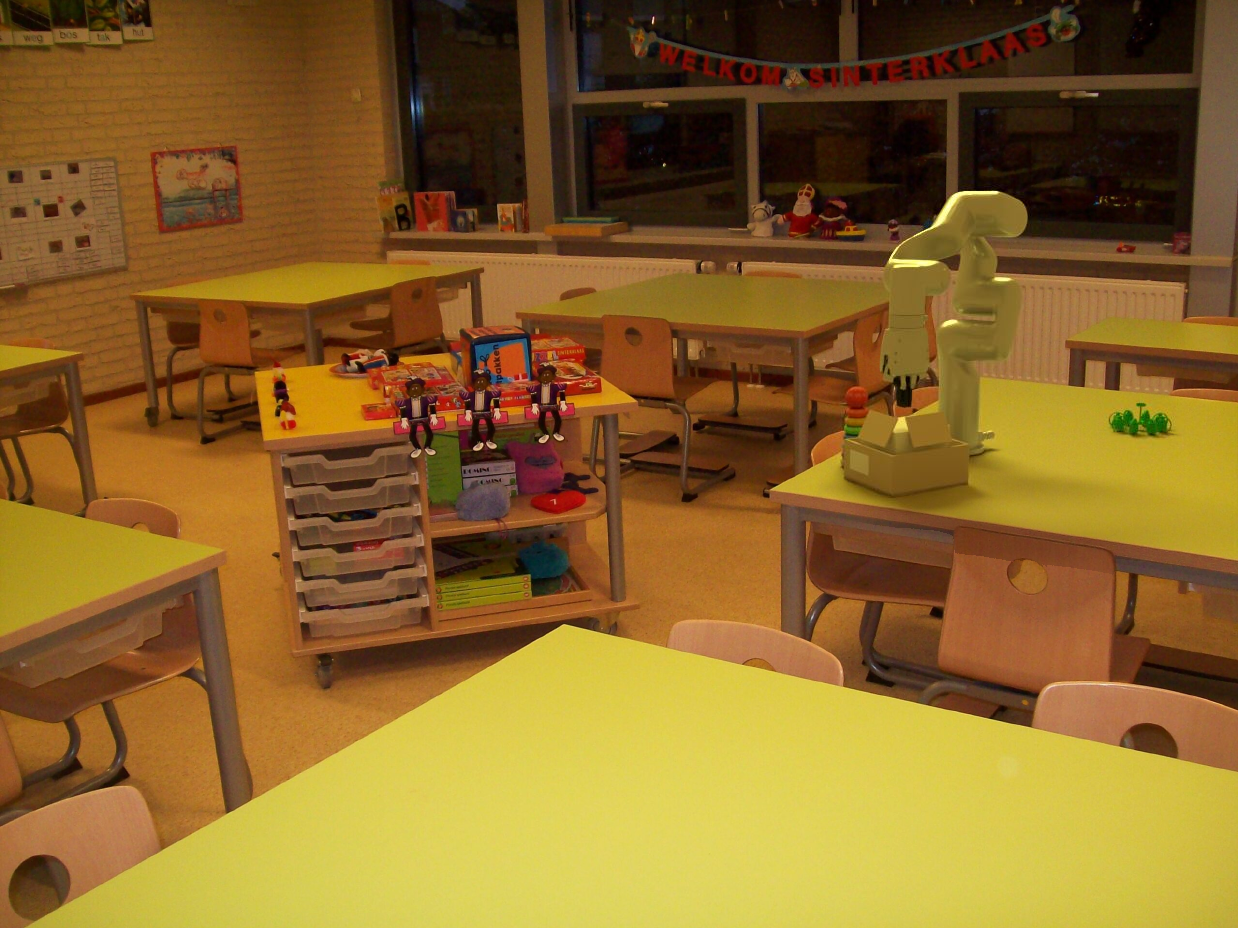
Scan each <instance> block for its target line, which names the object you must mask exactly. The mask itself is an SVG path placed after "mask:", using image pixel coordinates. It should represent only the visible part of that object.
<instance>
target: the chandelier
mask: <svg viewBox="0 0 1238 928" xmlns="http://www.w3.org/2000/svg"><path fill="white" fill-rule="evenodd" d="M1135 406H1136V407H1139V417H1138V420H1137V418H1136V417H1134V413H1133V412H1132V411H1133V410H1132V411H1131V409H1126V410H1124V412H1120V411H1115V412H1113V413H1111V414H1110V415H1109V417H1108V423H1109V425H1110V427H1111V429H1112V430H1113V431H1114V432H1116V431H1121V432H1124V431H1126V429H1127V428H1128V433H1129V434H1130V436H1134V434H1138V433H1139V425H1140V426H1141V425H1142V426H1143V427H1145V430H1146V433H1147V434H1148V435H1151V434H1152V436H1156V435H1157V433H1159V432H1164V433H1168V432H1169V431H1170V430H1171V429H1172V426H1173V425H1172V424H1173V423H1172V421H1171V419H1170V418H1169V417H1168V416H1167V414H1166V413H1163V412H1157V413H1156V414H1154V415H1153V416H1152V418H1151V414H1150V411H1149V410H1148V409H1145V410H1144V411H1143V412H1142V407H1143V408H1144V407H1147V403H1144V402H1138V403H1137V402H1136V404H1135ZM1114 414H1115V415H1114ZM1112 416H1113V417H1112ZM1111 418H1112V421H1111ZM1168 423H1169V424H1170V425H1169V429H1168Z"/></svg>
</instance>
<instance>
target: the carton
mask: <svg viewBox="0 0 1238 928" xmlns="http://www.w3.org/2000/svg"><path fill="white" fill-rule="evenodd" d="M916 415H917V414H915V415H912V416H916ZM909 416H910V415H908V416H900V417H897V418H898V421H897V423H896V426H895V428H894V430H893V432H892V435H891V437H890V439H889V441H888V444H887V446H886V448H884V447H881V446H878V445H876V444H873V443H870V442H867V441H864V440H861V439H858V437H856V438H849V439H843V442H844V449H843V450H844V467H843V479H845V480H848V481H850V482H852V483H855V484H858V485H860V486H863V487H865V488H867V487H868V489H869V488H871V489H870V490H872V489H873V491H874V490H876V491H875V492H877V491H878V492H877V493H879V492H880V494H881V495H884V494H885V496H886V497H889V498H896V497H897V496H898V497H901V496H902V495H903V496H909V495H913V494H920V493H926V492H931V491H933V492H934V491H937V490H943V489H944V490H945V489H948V488H949V489H950V488H955V487H960V486H961V487H962V486H965V485H969V472H970V471H969V470H970V469H969V468H970V467H969V466H970V455H969V446H970V444H967V443H964V442H961V441H958V440H955V439H952V442H947V443H941V444H935V445H928V446H922V447H916V448H913V445H912V442H911V438H910V435H909V431H908V427H907V424H906V420H905V417H909ZM948 427H949V431H950V425H948ZM898 497H897V498H898Z"/></svg>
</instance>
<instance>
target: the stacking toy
mask: <svg viewBox="0 0 1238 928" xmlns="http://www.w3.org/2000/svg"><path fill="white" fill-rule="evenodd" d="M868 400H869V394H868V392H867V391H866V389H864V388H863V387H860V386H853V387H850V388H849V389H848V390H847V392H846V394H845V402H846V403H847V405H848V407H847V408H846V410H845V414H846V415H847V416H846V417H845V418H844V422H845V425H844V427H843V431H844V432H845V433H844V434H843V437H842V439H843V440H844V439H849V438H856V437H858V435H859V433H860V431H861V428H862V426H863V424H864V422H865V419H866V417H867V415H868V413H869V409H868V408H867V407H866V404H867V403H868ZM840 455H841V457H842V458H841V459H840V466H842V467H843V468H844V441H843V442H842V451H841V453H840Z"/></svg>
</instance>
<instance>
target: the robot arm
mask: <svg viewBox="0 0 1238 928" xmlns="http://www.w3.org/2000/svg"><path fill="white" fill-rule="evenodd" d="M1027 224H1028V211H1027V207H1026V206H1025V204H1024V203H1023V201H1021V200H1020V199H1017V198H1015V197H1014V196H1012V195H1010V194H1008V193H1005V192H1002V191H997V190H990V191H989V190H987V191H986V190H984V191H983V190H982V191H981V190H980V191H978V190H977V191H976V190H974V191H973V190H972V191H968V190H967V191H965V190H964V191H959V192H956V193H954V194H952V195H951V196H949V198H947V200H946V202H945V203H944V205H943V206H942V209H940V212H939V213H938V215H937V217H936V219H935V220H934V221H933V222H932V224H931V226H930V227H929V228H927V229H925V230H922V231H921V232H919V233H917V234H915V235H913V236H910V237H909V238H907V239H906V240H905V241H902V242H901V243H900V244H899V245H897V247H896V248H895V249H894V250H893V252H892V254H891V256H890V257H889V258H888V260H887V262H886V264H885V266H884V270H883V272H882V284H883V286H884V288H885V290H886V291H887V292H889V299H888V301H889V304H888V328H885V329H884V332H883V336H882V341H881V346H880V357H879V372H880V373H881V374H883V376H882V381H884V382H888V383H891V384H892V385H893V387H894V388H895V389H896V392H895V393H896V398H895V401H896V406H897V407H898V408H899V407H900V408H903V409H907V408H911V407H912V401H913V390H914V389H915V388H916V384H917V383H918V382H919V381H920V380H923V379H924V378H925V379H926V378H927V376H928V373H927V372H928V370H929V367H930V366H929V365H930V345H929V343H930V342H929V336H928V335H929V334H928V330H927V328H926V327H925V325H926V324H925V322H928V320H929V315H926V296H930V297H931V296H932V297H933V296H934V297H935V296H938V295H941V294H944V292H946V290H947V289H948V288H949V286H950V283H951V280H952V279H951V278H952V276H951V275H952V274H951V270H950V268H949V267H948V265H947V264H946V263H944V262H943V261H939V260H943V259H946V258H949V257H952V256H955V255H957V254H958V253H960V260H959V266H958V270H957V275H956V279H955V283H954V288H953V292H952V300H951V308H952V310H953V311H954V313H955V314H957V315H960V316H963V317H971V318H984V319H985V318H986V319H994V320H982V319H981V320H978V319H965V318H953V319H949V320H946V321H944V322H942V323H941V324H940V325H939V326H938V328H937V331H936V333H935V334H936V337H935V342H936V343H935V344H936V350H937V358H938V368H939V369H938V372H939V373H938V375H939V377H938V401H937V402H938V404H937V405H938V406H937V407H938V408H937V412H943V411H944V413H945V417H946V420H947V424H948V425H950V434H951V438H952V439H955V440H958V441H961V442H964V443H967V444H970V446H969V456H975V455H980V454H982V453H983V452H985V445H984V444H983V443H982V442H984V441H985V440H993V439H994V438H995V432H994V431H993V430H988V431H984V432H983V430H980V429H979V428H980V427H979V426H980V408H981V407H980V405H981V404H980V403H981V401H980V399H981V376H980V373H979V371H978V369H977V368H976V365H975V363H974V362H986V363H1003V362H1005V361H1006V360H1008V359H1009V357H1010V355H1011V353H1012V350H1013V347H1014V344H1015V343H1014V342H1015V339H1016V334H1017V329H1018V324H1019V319H1020V314H1021V310H1022V304H1023V291H1022V290H1023V289H1022V285H1021V284H1020V283H1019V281H1017V280H1016V279H1014V278H1010V277H996V272H997V271H996V270H997V266H998V257H997V255H996V253H995V251H994V249H993V248H992V246H991V245H990V244H989V243H988V241H987V240H986V238H1016V237H1018V236H1020V235H1021V234H1023V232H1024V231H1025V230H1026V227H1027Z"/></svg>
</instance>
